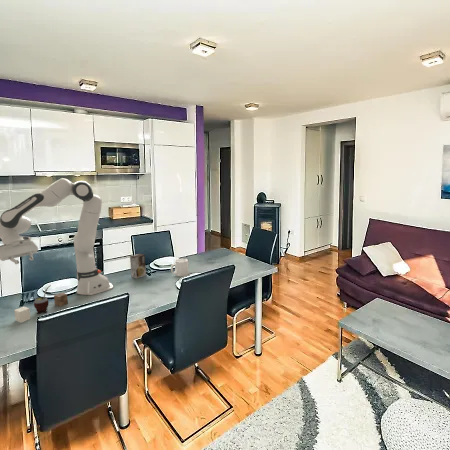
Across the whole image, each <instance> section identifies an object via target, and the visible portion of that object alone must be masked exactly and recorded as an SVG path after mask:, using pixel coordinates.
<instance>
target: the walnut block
mask: <svg viewBox="0 0 450 450" xmlns="http://www.w3.org/2000/svg"><path fill="white" fill-rule="evenodd" d="M53 299H54V306H57V307H62V306H65V305H67V304H69V301H68V294H67V293H64V292H60V293H59V292H58V293H57V294H53Z"/></svg>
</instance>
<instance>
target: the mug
mask: <svg viewBox="0 0 450 450" xmlns="http://www.w3.org/2000/svg"><path fill="white" fill-rule="evenodd" d="M189 265H190V264H189V259H188V258H176V259H175V260H174V263H171V266H170V271H171V273H172V274H173V275H174V274H175V277H186V276H188V275H190V270H189Z"/></svg>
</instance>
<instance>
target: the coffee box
mask: <svg viewBox="0 0 450 450" xmlns="http://www.w3.org/2000/svg"><path fill="white" fill-rule="evenodd" d="M129 260H130V261H129V262H130V273H131V274H130V275H131V278H134V279H140V278H142V277H145V276H147V270H146V269H147V266H146V255H145V254H142V253H137V254H133V255H130V256H129Z"/></svg>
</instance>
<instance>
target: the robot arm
mask: <svg viewBox="0 0 450 450" xmlns="http://www.w3.org/2000/svg"><path fill="white" fill-rule="evenodd" d="M70 195H72V196H74V197H75V198H77V199H79V200H81V201H82V202H83V203H82V209H81V213H80V216H79V219H78V226H77V232H76V233H75V234H74V236H73V247H74V254H75V255H74V256H75V261H76V279H77V285H76V286H77V288H76V294H78V295H86V296H87V295H88V296H93V295H97V294H100V293H103V292H106V291H109V290H112V289H114V285H113V283H112V282H110V281H109V278H108V277H107V276H105V275H103V274H101V273H102V270H101V269H98V268H97V267H96V259H95V252H94V251H95V250H94V246H95V241H96V236H97V230H98V223H99V219H100V216H101V213H102V206H103V205H102V204H103V202H102V198H101V197H100V196H99V195H97V194H94V192H93V189H92V185H91V184H90V183H88V181H85V180H78V181H74V182H72V181H70V180H69V179H68V178H63V177H61V178H60V179H58V180H56V181H54V182H53V183H51V184H50V185H48V186H47V187H46V188H44V190H41V191H40V192H38V193H35V194H32V195H31V196H29V197H27V198H25V199H24V200H22V201H21V202H20V203H18V204H17V205H16V206H13V207H11V208H9V209H7V210H5V211H3V212H2V213H1V215H0V239H1V242H2V244H1V245H0V261H1V262H5V261H8V260H9V261H11V262H13V263H14V264H15V265H19V264H20V261H19V260H18V259H17V258H21V257H25V256H29V258H28V259H29V261H34V259H35V258H34V257H33V256H34V254H36V253H37V252H38V251H39V247H38V245H37V243H35V242H34V241H33V240H32V239H31V237H30V236H23V235H22V234H24V233H26V232H28V231H29V230H30V229H31V228H32V220H31V219H30V218H29V217H27V216H25V215H26V214H27V213H29V212H31V211H32V210H33V209H35V208H37V207H48V208H51V207H55V206H58V205H59V204H60V203H61V202H63V201H64V200H65V199H66V198H67V197H69V196H70ZM37 254H38V253H37Z"/></svg>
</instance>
